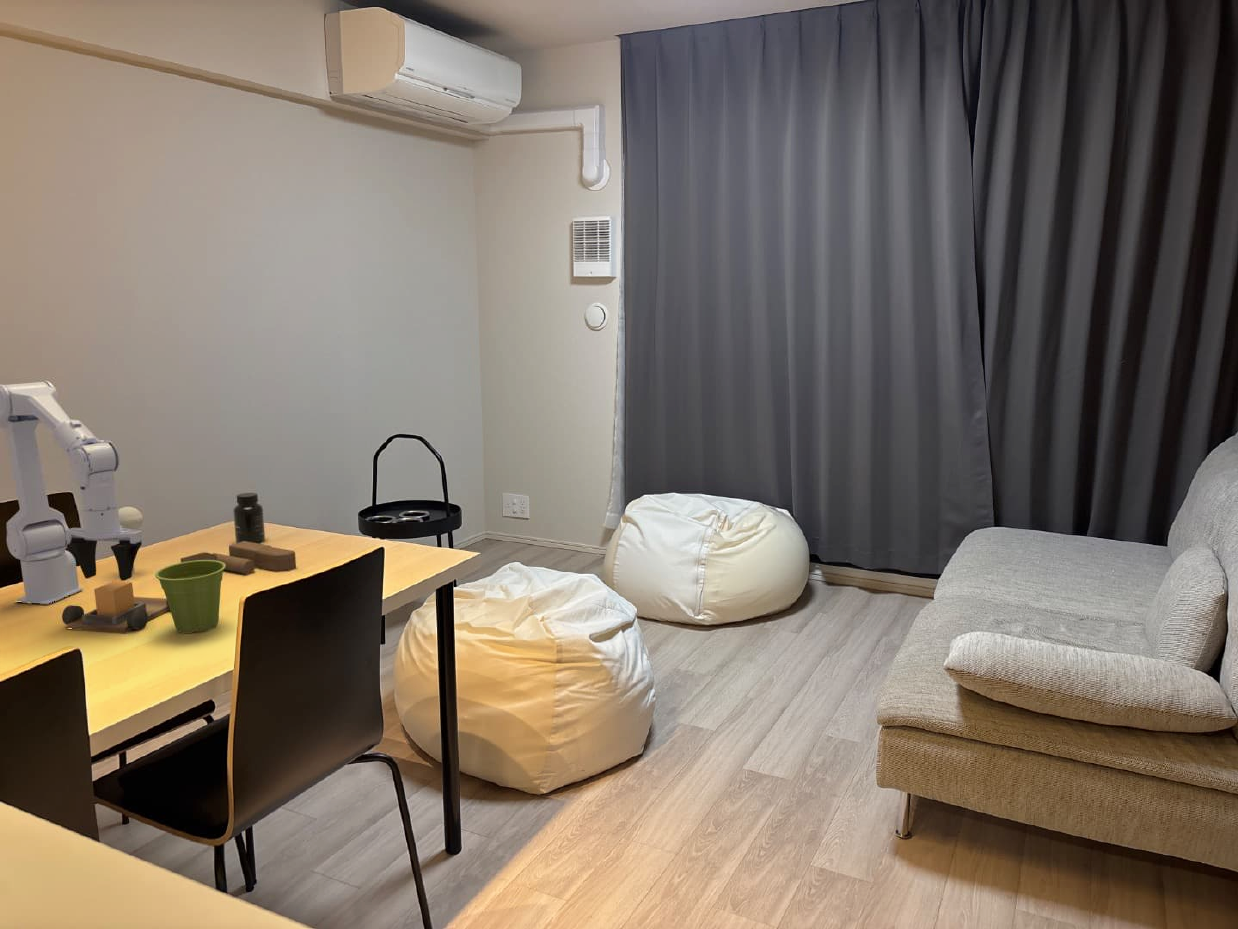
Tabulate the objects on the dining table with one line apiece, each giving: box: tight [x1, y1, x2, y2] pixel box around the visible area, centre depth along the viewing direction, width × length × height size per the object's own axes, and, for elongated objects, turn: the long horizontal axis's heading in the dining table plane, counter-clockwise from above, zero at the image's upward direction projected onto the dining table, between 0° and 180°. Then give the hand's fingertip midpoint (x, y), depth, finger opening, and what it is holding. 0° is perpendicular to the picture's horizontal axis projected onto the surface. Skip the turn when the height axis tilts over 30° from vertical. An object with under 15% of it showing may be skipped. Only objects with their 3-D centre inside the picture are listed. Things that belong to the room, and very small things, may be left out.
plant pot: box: [154, 560, 226, 634], centre depth 170 cm, size 12×12×11 cm
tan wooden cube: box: [94, 580, 135, 616], centre depth 174 cm, size 5×4×6 cm
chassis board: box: [61, 596, 170, 634], centre depth 177 cm, size 16×15×4 cm
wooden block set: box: [180, 541, 297, 575], centre depth 204 cm, size 17×6×18 cm
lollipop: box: [118, 506, 144, 574], centre depth 204 cm, size 6×6×15 cm
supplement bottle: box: [232, 492, 266, 544], centre depth 229 cm, size 7×7×12 cm
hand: (108, 578), depth 174 cm, fingers open, 7 cm apart
